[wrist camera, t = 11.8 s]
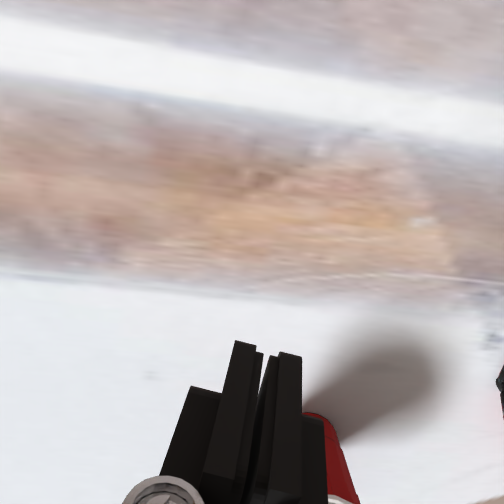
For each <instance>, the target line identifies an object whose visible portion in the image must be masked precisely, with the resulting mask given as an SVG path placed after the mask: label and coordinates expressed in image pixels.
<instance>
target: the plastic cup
mask: <svg viewBox="0 0 504 504" xmlns="http://www.w3.org/2000/svg"><path fill="white" fill-rule="evenodd" d="M302 414H305V415H309V416H313V417H317V418H321V419H323V421H324V432H325V451H326V469H327V487H328V504H360V501H359V498H358V495H357V494H356V492H355V489H354V486H353V482H352V479H351V476H350V473H349V470H348V467H347V463H346V460H345V457H344V454H343V451H342V449H341V448H340V444H339V441H338V438H337V434H336V431H335V430H334V428H333V426H332V425H331V424H330V422H329V421H328V420H327V419H325V418H323V417H322V416H320V415H318V414H313V413H308V412H307V413H302Z"/></svg>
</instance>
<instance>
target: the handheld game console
mask: <svg viewBox="0 0 504 504" xmlns="http://www.w3.org/2000/svg"><path fill="white" fill-rule="evenodd" d="M496 385H497V387H498V389H499V390H500V392H501V394H500V396H501V404H502V411H503V418H504V366H503V368H502V370H501V372H500V374H499V377H498V379H496Z"/></svg>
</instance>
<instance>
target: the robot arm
mask: <svg viewBox="0 0 504 504" xmlns="http://www.w3.org/2000/svg"><path fill="white" fill-rule="evenodd" d="M263 355H264V354H263V353H260V352H256V345H253V344H249V343H245V342H241V341H237V340H235V343H234V347H233V351H232V355H231V359H230V363H229V367H228V371H227V375H226V379H225V383H224V387H223V391H222V393H218V392H214V391H210V390H206V389H202V388H198V387H194V386H191V387H190V389H189V392H188V394H187V397H186V400H185V403H184V406H183V409H182V412H181V414H180V417H179V420H178V423H177V426H176V429H175V432H174V434H173V437H172V440H171V443H170V446H169V449H168V452H167V454H166V457H165V460H164V463H163V466H162V469H161V472H160V474H159V476H155V477H152V478H148V479H145V480H144V481H142V482H140V483H139V484H137V485H136V486H135V487H134V488H133V489H132V490H131V491H130V492H129V494H128V495H127V496H126V498H125V500H124V501H123V503H122V504H328V487H327V469H326V451H325V432H324V421H323V419H321V418H317V417H313V416H309V415H305V414H302V357H300V356H296V355H292V354H288V353H284V352H279V355H278V357H276V356H272V355H270V357H269V360H268V363H267V367H266V370H265V374H264V377H263V381H262V384H261V387H260V391H259V384H260V377H261V369H262V362H263ZM258 391H259V394H258Z"/></svg>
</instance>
